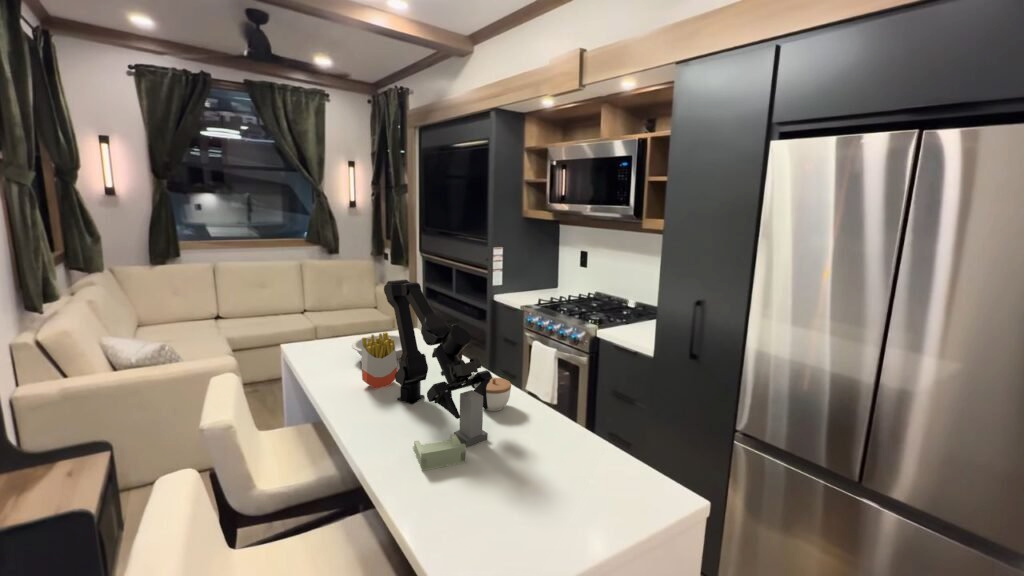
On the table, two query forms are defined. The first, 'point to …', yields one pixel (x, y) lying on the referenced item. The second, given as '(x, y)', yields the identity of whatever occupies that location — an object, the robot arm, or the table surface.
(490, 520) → the table surface
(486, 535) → the table surface
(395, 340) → the soup bowl
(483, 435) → the grey pillar on base
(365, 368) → the french fries container
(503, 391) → the lidded jar
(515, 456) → the table surface
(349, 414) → the table surface
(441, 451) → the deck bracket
